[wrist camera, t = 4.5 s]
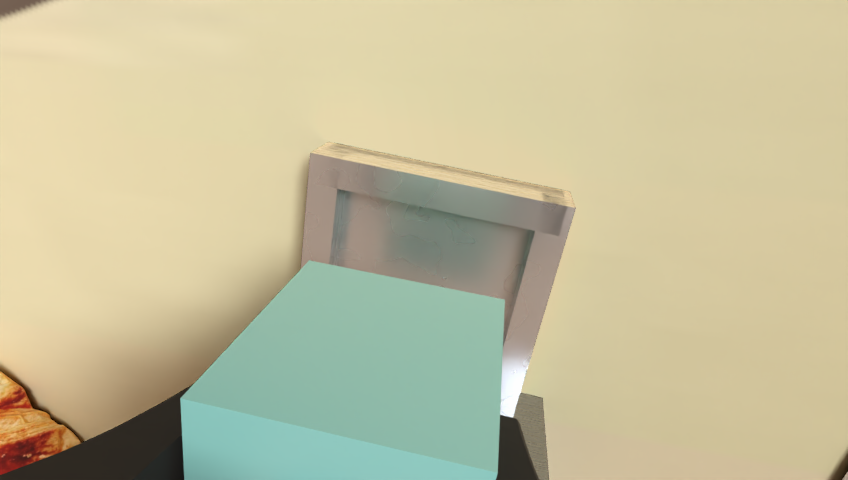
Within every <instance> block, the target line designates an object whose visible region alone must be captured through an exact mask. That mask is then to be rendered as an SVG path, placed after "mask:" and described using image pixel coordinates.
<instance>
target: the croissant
mask: <svg viewBox="0 0 848 480" xmlns="http://www.w3.org/2000/svg"><path fill="white" fill-rule="evenodd" d="M80 443H81V442H80V440H79V439H78V438H77V437H76V436H75V434H74V433H73V432H72V431H70V430H69V429H68V428H67V427H65V426H64V425H58V424H57V423H56V422H55V421H53V420H51V419H50V415H49V414H47V413H46V412H43V411H39V410H35V409H33V408H32V406H31V404H30V401H29V399H28V397H27V395H26V392H25V390H24V388H23V387H21V386H20V385H18V384H17V383H16V382H14V381H13V380H11V379H10V378H9V377H7V376H6V375H5V374H4V373H2V372H0V475H2V474H4V473H7V472H10V471H12V470H15V469H18V468H20V467H23V466H25V465H28V464H31V463H33V462H36V461H39V460H41V459H44V458H46V457H49V456H52V455H54V454H57V453H59V452H62V451H64V450H67V449H69V448H71V447H73V446H76V445H78V444H80Z"/></svg>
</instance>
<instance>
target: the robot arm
mask: <svg viewBox="0 0 848 480" xmlns="http://www.w3.org/2000/svg"><path fill="white" fill-rule="evenodd" d="M191 386H192V385H191ZM191 386H189V387H188V388H186V389H184V390H183V391H181V392H179V393H178V394H176V395H174V396H172V397H171V398H169V399H167V400H166V401H164V402H162V403H160V404H158V405H157V406H155V407H153V408H151V409H149V410H147V411H145V412H144V413H142V414H140V415H138V416H136V417H134V418H132V419H130V420H129V421H127V422H125V423H123V424H121V425H119V426H117V427H115V428H113V429H111V430H109V431H107V432H105V433H102V434H100V435H98V436H96V437H94V438H92V439H89V440H87V441H85V442H83V443H80V444H78V445H76V446H73V447H71V448H69V449H67V450H64V451H62V452H59V453H57V454H54V455H52V456H49V457H46V458H44V459H41V460H39V461H36V462H33V463H31V464H28V465H25V466H23V467H20V468H18V469H15V470H12V471H10V472H7V473H4V474H2V475H0V480H184V462H183V442H182V422H181V401H180V398H181V397H182V396H183V395H184V394H185V393H186V392H187V391H188V390H189V389H190V387H191ZM496 480H539V478H538V475H537V473H536V470H535V468H534V465H533V462H532V459H531V457H530V454H529V451H528V448H527V445H526V442H525V439H524V436H523V432H522V429H521V425H520V423H519V421H518V420H517V419H516V418H512V417H508V416H504V415H500V429H499V453H498V474H497V477H496ZM842 480H848V472H847V473H846V475H845V476H844V478H843V479H842Z"/></svg>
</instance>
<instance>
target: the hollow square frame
mask: <svg viewBox="0 0 848 480" xmlns="http://www.w3.org/2000/svg"><path fill="white" fill-rule="evenodd" d="M575 209H576V207H575V205H574V202H573V199H572V196H571V193H570V191H565V190H560V189H555V188H550V187H546V186H541V185H536V184H531V183H526V182H521V181H517V180H512V179H507V178H502V177H497V176H492V175H487V174H483V173H478V172H473V171H468V170H463V169H458V168H454V167H449V166H444V165H439V164H434V163H429V162H424V161H420V160H415V159H410V158H405V157H400V156H395V155H391V154H386V153H381V152H376V151H371V150H366V149H361V148H357V147H352V146H347V145H342V144H337V143H332V142H327V143H326V144H324V145H322V146H321V147H319V148H317V149H316V150H314V151H312V152H311V153H310V163H309V175H308V187H307V199H306V211H305V224H304V236H303V248H302V260H301V269H302V267H303V266H304V265H305V264H306V263H307V262H308V261H309V260H310V261H315V262H320V263H325V264H330V265H335V266H340V267H345V268H350V269H355V270H360V271H365V272H370V273H374V274H379V275H384V276H389V277H394V278H399V279H404V280H409V281H414V282H419V283H424V284H429V285H434V286H439V287H444V288H449V289H454V290H459V291H464V292H469V293H474V294H479V295H484V296H489V297H494V298H499V299H504V300H505V309H504V333H503V357H502V381H501V405H500V415H504V416H508V417H512V418H516V419H517V420H518V421H519V423H520V425H521V429H522V432H523V436H524V439H525V442H526V445H527V448H528V451H529V454H530V457H531V459H532V462H533V465H534V468H535V470H536V473H537V475H538V478H539V480H549V473H548V460H547V448H546V435H545V423H544V410H543V398H540V397H536V396H532V395H527V394H523V393H520V392H521V388H522V385H523V382H524V378H525V375H526V372H527V369H528V365H529V362H530V359H531V355H532V352H533V349H534V345H535V342H536V339H537V335H538V332H539V329H540V325H541V322H542V319H543V315H544V312H545V309H546V305H547V302H548V299H549V295H550V292H551V289H552V285H553V282H554V279H555V275H556V272H557V269H558V266H559V262H560V259H561V256H562V252H563V249H564V246H565V242H566V239H567V236H568V232H569V229H570V226H571V222H572V219H573V216H574V212H575Z"/></svg>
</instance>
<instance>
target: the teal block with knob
mask: <svg viewBox="0 0 848 480" xmlns="http://www.w3.org/2000/svg"><path fill="white" fill-rule="evenodd" d="M504 309H505V300H504V299H499V298H494V297H489V296H484V295H479V294H474V293H469V292H464V291H459V290H454V289H449V288H444V287H439V286H434V285H429V284H424V283H419V282H414V281H409V280H404V279H399V278H394V277H389V276H384V275H379V274H374V273H370V272H365V271H360V270H355V269H350V268H345V267H340V266H335V265H330V264H325V263H320V262H315V261H310V260H309V261H308V262H307V263H306V264H305V265H304V266H303V267H302V269H301V270H300V271H299V272H298V273H297V274H296V275H295V276H294V277H293V278H292V279H291V280H290V281H289V282H288V284H287V285H286V286H285V287H284V288H283V289H282V290H281V291H280V292H279V293H278V294H277V295H276V296H275V297H274V299H273V300H272V301H271V302H270V303H269V304H268V305H267V306H266V307H265V308H264V309H263V310H262V311H261V312H260V314H259V315H258V316H257V317H256V318H255V319H254V320H253V321H252V322H251V323H250V324H249V325H248V326H247V327H246V329H245V330H244V331H243V332H242V333H241V334H240V335H239V336H238V337H237V338H236V339H235V340H234V341H233V342H232V344H231V345H230V346H229V347H228V348H227V349H226V350H225V351H224V352H223V353H222V354H221V355H220V356H219V357H218V359H217V360H216V361H215V362H214V363H213V364H212V365H211V366H210V367H209V368H208V369H207V370H206V371H205V372H204V374H203V375H202V376H201V377H200V378H199V379H198V380H197V381H196V382H195V383H194V384H193V385H192V386H191V387H190V389H189V390H188V391H187V392H186V393H185V394H184V395H183V396H182V397H181V398H180V401H181V422H182V442H183V462H184V480H496V477H497V474H498V453H499V429H500V405H501V381H502V357H503V333H504Z"/></svg>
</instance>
